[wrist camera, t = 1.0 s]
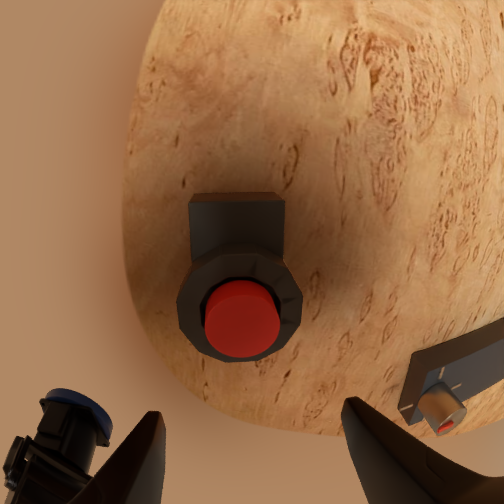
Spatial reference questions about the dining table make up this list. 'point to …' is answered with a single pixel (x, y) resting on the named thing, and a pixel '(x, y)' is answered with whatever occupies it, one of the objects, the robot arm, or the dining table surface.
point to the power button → (241, 319)
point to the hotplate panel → (455, 368)
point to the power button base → (237, 262)
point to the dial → (441, 408)
